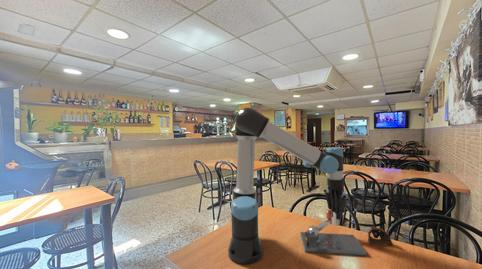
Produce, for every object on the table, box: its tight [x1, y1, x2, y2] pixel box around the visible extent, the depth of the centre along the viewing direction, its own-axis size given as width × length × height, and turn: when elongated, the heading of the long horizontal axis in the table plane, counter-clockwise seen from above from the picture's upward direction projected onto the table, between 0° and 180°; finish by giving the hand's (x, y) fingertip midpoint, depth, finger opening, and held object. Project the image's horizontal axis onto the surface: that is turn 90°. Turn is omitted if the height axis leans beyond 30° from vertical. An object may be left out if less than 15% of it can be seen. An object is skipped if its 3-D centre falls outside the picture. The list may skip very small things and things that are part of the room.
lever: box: [304, 209, 333, 241], centre depth 101 cm, size 22×4×9 cm, turn 132°
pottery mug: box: [367, 225, 393, 247], centre depth 97 cm, size 12×10×8 cm
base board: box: [300, 231, 367, 257], centre depth 96 cm, size 25×14×7 cm, turn 82°
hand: (336, 224), depth 104 cm, fingers closed
